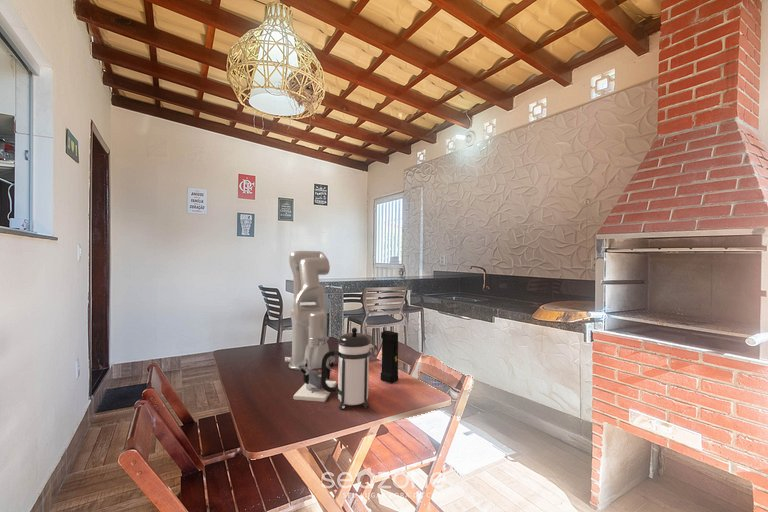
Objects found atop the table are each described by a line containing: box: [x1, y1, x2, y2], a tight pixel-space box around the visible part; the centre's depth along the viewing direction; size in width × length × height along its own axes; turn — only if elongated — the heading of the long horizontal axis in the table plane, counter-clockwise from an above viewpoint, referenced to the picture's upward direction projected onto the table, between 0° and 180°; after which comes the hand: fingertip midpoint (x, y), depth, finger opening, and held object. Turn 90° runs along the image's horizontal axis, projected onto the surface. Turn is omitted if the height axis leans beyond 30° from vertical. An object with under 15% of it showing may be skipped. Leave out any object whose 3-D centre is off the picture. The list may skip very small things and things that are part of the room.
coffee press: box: [320, 327, 374, 411], centre depth 134 cm, size 17×16×30 cm
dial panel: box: [292, 380, 337, 403], centre depth 145 cm, size 13×18×2 cm
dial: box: [306, 369, 327, 391], centre depth 146 cm, size 9×9×6 cm
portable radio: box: [380, 325, 399, 384], centre depth 159 cm, size 8×6×25 cm
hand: (316, 380), depth 146 cm, fingers open, 9 cm apart
